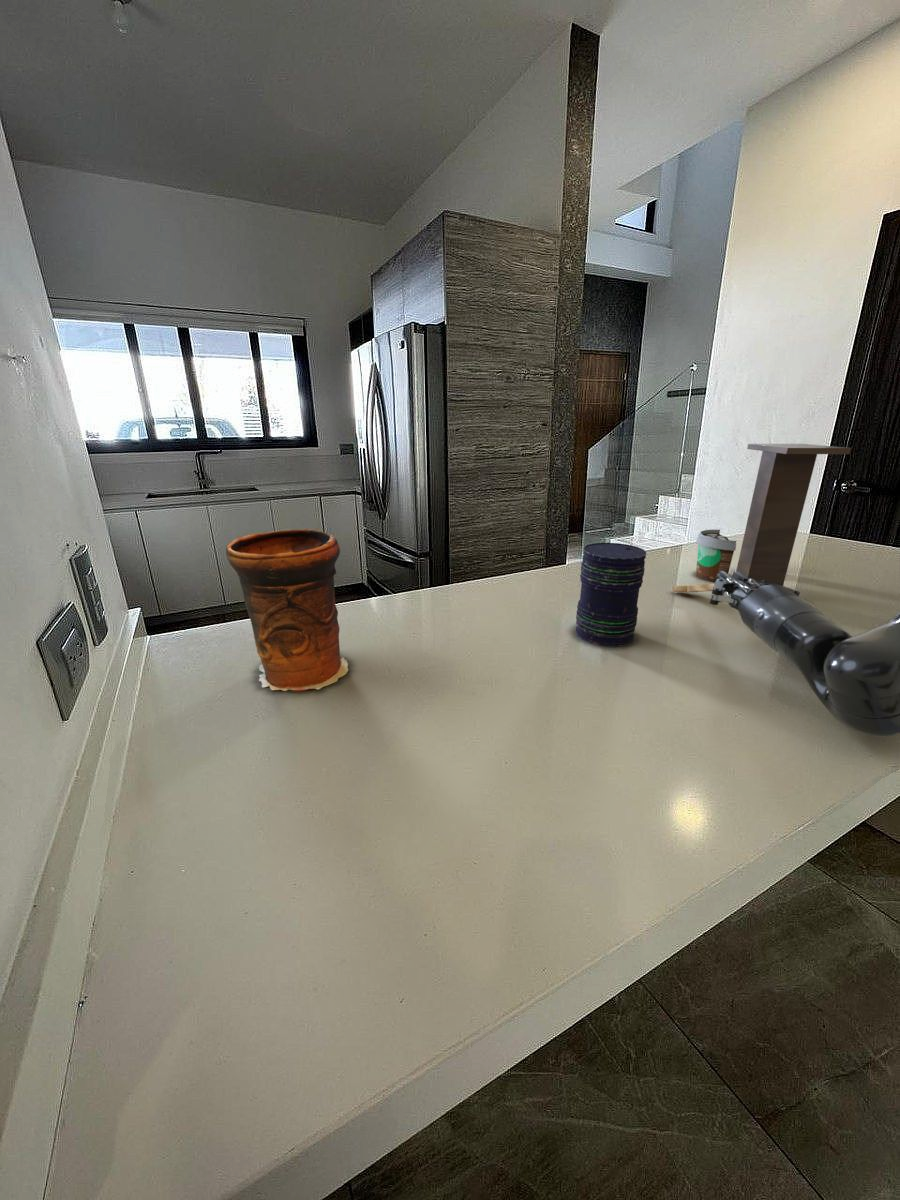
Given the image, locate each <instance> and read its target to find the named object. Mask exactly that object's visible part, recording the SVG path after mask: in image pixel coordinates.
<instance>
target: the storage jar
mask: <svg viewBox="0 0 900 1200" xmlns="http://www.w3.org/2000/svg"><path fill="white" fill-rule="evenodd" d="M582 554H583V555H582V559H581V560H582V561H581V562H580V563H581V564H580V565H581V566H580V575H579V577H580V579H579V581H580V582H581V583H580V584H581V586H580V594H579V600H578V601H577V606H576V608H577V609H576V613H575V619H576V621H575V623H576V626H575V630H574V631H575V635H576V636H577V638H579V640H582V641H584V642H586V643H589V644H591V645H595V646H600V647H611V648H614V647H615V648H616V647H624V646H627V645H630V644H631V643H632V642H633V641H634V638H635V633H634V632H635V631H636V626H637V623H638V613H639V607H638V601H639V595H640V589H641V587H642V585H643V582H644V580H643V578H644V576H645V565H646V557H647V551H646V550H645V549H643V548H641V547H639V546H636V545H632V544H626V543H619V542H596V543H595V542H594V543H589V544H586V545H585V546H584V547H583V551H582Z"/></svg>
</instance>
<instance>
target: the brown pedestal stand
mask: <svg viewBox="0 0 900 1200" xmlns="http://www.w3.org/2000/svg"><path fill="white" fill-rule="evenodd" d="M746 449H747V450H752V451H760V452H762V453H761V457H760V460H759V466H758V471H757V475H756V480H755V485H754V489H753V493H752V497H751V502H750V507H749V512H748V515H747V520H746V524H745V530H744V535H743V538H742V544H741V548H740V552H739V557H738V561H737V566H736V571H735V572H740V573H741V574H743V575H745V576H746V577H747V578H753V579H755V580H756V581H758V582H761V580H767V581H769V582H772V583H775V584H778V585H781V586H784V584H785V580H786V576H787V573H788V569H789V565H790V560H791V557H792V554H793V549H794V545H795V542H796V538H797V534H798V530H799V527H800V522H801V520H802V519H801V518H802V516H803V515H802V514H803V512H804V511H803V510H804V506H805V502H806V501H807V500H806V499H807V495H808V491H809V488H810V484H811V479H812V475H813V473H814V468H815V466H816V465H815V464H816V461H817V457H818V455H850V454H851V451H852V448H851V447H843V446H831V445H821V444H811V443H810V444H809V443H747V447H746Z"/></svg>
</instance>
